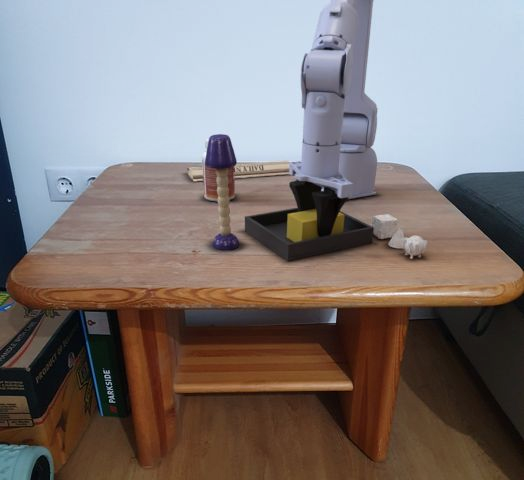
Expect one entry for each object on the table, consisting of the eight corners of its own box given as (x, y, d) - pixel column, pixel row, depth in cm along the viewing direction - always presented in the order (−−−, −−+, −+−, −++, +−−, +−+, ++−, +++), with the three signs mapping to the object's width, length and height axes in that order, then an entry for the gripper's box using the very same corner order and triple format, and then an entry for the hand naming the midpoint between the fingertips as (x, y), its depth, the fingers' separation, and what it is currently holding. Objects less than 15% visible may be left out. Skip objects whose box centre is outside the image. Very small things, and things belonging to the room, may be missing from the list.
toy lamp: (227, 253, 82) (224, 140, 73) (203, 247, 85) (197, 136, 75) (244, 243, 86) (243, 134, 77) (220, 237, 88) (217, 131, 79)
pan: (323, 216, 97) (324, 202, 96) (372, 242, 87) (374, 227, 86) (244, 231, 91) (244, 216, 89) (287, 261, 80) (288, 244, 79)
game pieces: (369, 234, 90) (372, 215, 88) (386, 231, 91) (389, 213, 89) (409, 261, 81) (413, 241, 79) (428, 258, 82) (431, 238, 80)
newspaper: (284, 166, 127) (284, 158, 126) (294, 174, 122) (295, 166, 121) (187, 173, 121) (186, 165, 120) (193, 181, 115) (193, 173, 114)
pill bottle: (240, 199, 105) (240, 140, 99) (213, 204, 102) (211, 144, 96) (225, 191, 110) (223, 134, 104) (198, 196, 107) (195, 138, 101)
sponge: (326, 229, 90) (328, 206, 88) (342, 238, 87) (344, 214, 85) (286, 237, 87) (287, 213, 85) (301, 246, 84) (302, 222, 81)
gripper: (273, 135, 82) (272, 220, 90) (327, 155, 72) (320, 249, 79) (311, 131, 85) (306, 213, 93) (368, 150, 75) (357, 241, 82)
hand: (315, 230), depth 86 cm, fingers closed on sponge, 4 cm apart
